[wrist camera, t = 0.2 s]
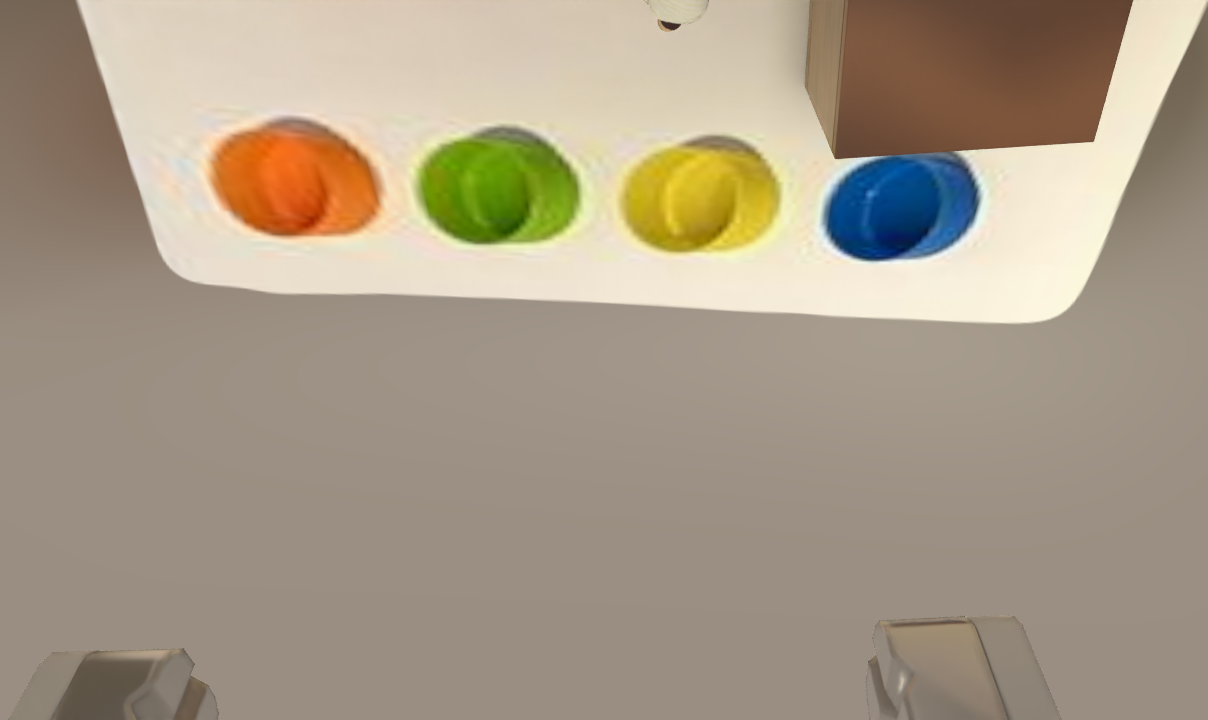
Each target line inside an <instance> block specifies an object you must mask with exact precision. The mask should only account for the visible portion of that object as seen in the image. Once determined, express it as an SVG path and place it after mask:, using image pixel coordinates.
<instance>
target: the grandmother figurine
mask: <svg viewBox="0 0 1208 720" xmlns="http://www.w3.org/2000/svg"><path fill="white" fill-rule="evenodd" d="M644 1H645V2H646V3H647V4H648V5H649V6H650V8H651V10H652V12H653V14H654V15H655V16H656V17H657V18H658V25H659V27H660V29H661V30H663V31H666V32H669V31H672V30H675V29H677V28H678V27H679V26H680V25H681V24H686V23H687V24H690V23H693V22H695V21H696V20H698V19H699V18H700V17H701V16H702V15H703V13H704V12H705V10H706V8H707V6H708V2H709V0H644Z"/></svg>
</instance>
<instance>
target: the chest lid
mask: <svg viewBox="0 0 1208 720" xmlns="http://www.w3.org/2000/svg"><path fill="white" fill-rule="evenodd" d="M1132 2H1133V0H845V8H844V19H843V31H842V43H841V55H840V67H839V78H838V90H837V102H836V114H835V126H834V138H833V149H832V153H833V155H834V158H835V159H843V158H858V157H873V156H888V155H903V154H918V153H933V152H948V151H963V150H978V149H993V148H1008V147H1023V146H1037V145H1052V144H1067V143H1082V142H1093V141H1094V139H1095V136H1096V132H1097V128H1098V125H1099V121H1100V118H1101V114H1102V110H1103V107H1104V103H1105V100H1106V96H1107V92H1108V89H1109V85H1110V82H1111V78H1112V74H1113V71H1114V67H1115V64H1116V60H1117V56H1118V53H1119V49H1120V46H1121V42H1122V38H1123V35H1124V31H1125V28H1126V24H1127V20H1128V17H1129V13H1130V10H1131V6H1132Z"/></svg>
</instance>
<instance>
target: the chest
mask: <svg viewBox="0 0 1208 720" xmlns="http://www.w3.org/2000/svg"><path fill="white" fill-rule="evenodd" d="M844 8H845V0H810V12H809V29H808V45H807V61H806V78H805V87H806V90H807V92H808V95H809V97H810V100H811V102H812V104H813V107H814V109H815V112H816V114H817V117H818V119H819V121H820V124H821V126H822V129H823V131H824V134H825V136H826V138H827V141H828V143H829V146H830V148H831V150H832V149H833V138H834V126H835V114H836V102H837V90H838V78H839V67H840V55H841V43H842V31H843V19H844Z"/></svg>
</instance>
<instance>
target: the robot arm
mask: <svg viewBox="0 0 1208 720" xmlns="http://www.w3.org/2000/svg"><path fill="white" fill-rule="evenodd" d="M873 643H874V647H875V651H876V656H875V657H873V658H872V659H871V660H869V661H868V668H867V675H866V690H867V705H868V711H869V717H870V720H1062V719H1061V717H1060V714H1059V711H1058V709H1057V707H1056V705H1055V702H1054V699H1053V697H1052V695H1051V692H1050V690H1049V687H1048V685H1047V683H1046V681H1045V678H1044V675H1043V673H1042V671H1041V668H1040V666H1039V663H1038V661H1037V659H1036V656H1035V654H1034V652H1033V649H1032V646H1031V644H1030V642H1029V639H1028V637H1027V635H1026V632H1025V630H1024V627H1023V625H1022V624H1021V623H1020V622H1019V621H1018V620H1017V619H1016V617H1014V616H1011V615H1002V616H982V617H965V616H957V617H942V618H941V617H939V618H922V619H903V620H886V621H879V622H878V623H877V624H876V625H875V629H874V634H873ZM194 665H195V664H194V662H193V661H192V659H191V658H190V657H189V655H188V654H187V653H186V651H185V650H184V649H152V650H119V651H98V650H96V651H74V652H53V653H52V654H51V655H50V656H48V657H47V658H46V659H45V660H44V661H43V662H42V663H41V664H40V665H39V666H38V667H37V669H36V671H35V673H34V674H33V676H32V678H31V680H30V682H29V683H28V685H27V687H26V689H25V690H24V692H23V694H22V696H21V697H20V699H19V701H18V703H17V705H16V706H15V708H14V710H13V712H12V714H11V715H10V717H9V719H8V720H218V715H219V712H218V708H217V703H216V698H215V696H214V694H213V693H212V691H211V689H210V687H209V686H208V685H207V684H205V683H204V682H202V681H200V680H198V679H196V678H194V677H192V676H191V672H192V670H193V667H194Z"/></svg>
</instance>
